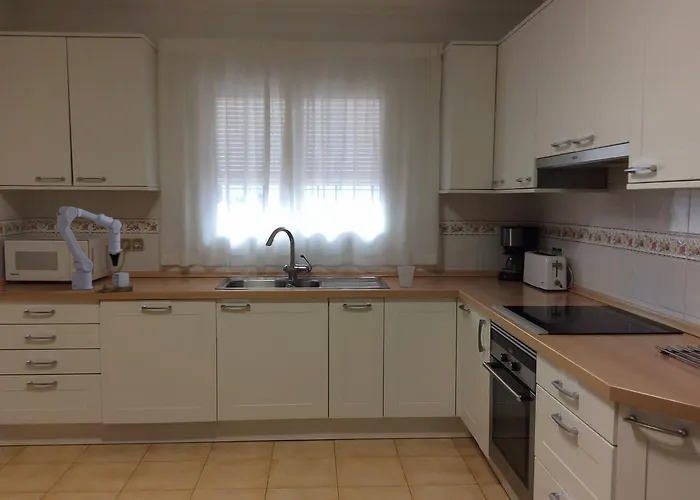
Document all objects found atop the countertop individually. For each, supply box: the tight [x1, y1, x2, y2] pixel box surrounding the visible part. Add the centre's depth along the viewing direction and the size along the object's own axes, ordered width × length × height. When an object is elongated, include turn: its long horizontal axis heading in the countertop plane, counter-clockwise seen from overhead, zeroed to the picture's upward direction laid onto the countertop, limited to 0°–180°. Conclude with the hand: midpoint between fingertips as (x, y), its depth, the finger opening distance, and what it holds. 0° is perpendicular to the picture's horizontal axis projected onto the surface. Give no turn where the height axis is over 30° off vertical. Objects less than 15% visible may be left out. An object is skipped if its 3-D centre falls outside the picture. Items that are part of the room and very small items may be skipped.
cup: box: [396, 265, 416, 288], centre depth 326 cm, size 10×10×11 cm
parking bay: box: [101, 283, 134, 294], centre depth 310 cm, size 14×11×2 cm
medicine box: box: [111, 271, 130, 287], centre depth 312 cm, size 8×4×9 cm, turn 162°
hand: (115, 266), depth 326 cm, fingers closed
